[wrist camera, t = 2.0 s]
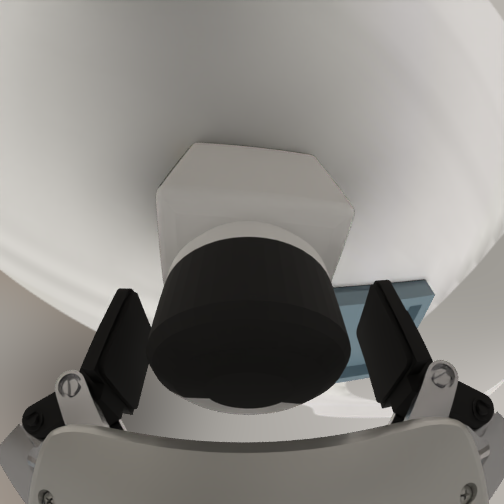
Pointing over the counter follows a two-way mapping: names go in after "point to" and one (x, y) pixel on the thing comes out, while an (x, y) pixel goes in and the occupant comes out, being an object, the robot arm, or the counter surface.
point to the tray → (351, 306)
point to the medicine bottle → (249, 279)
